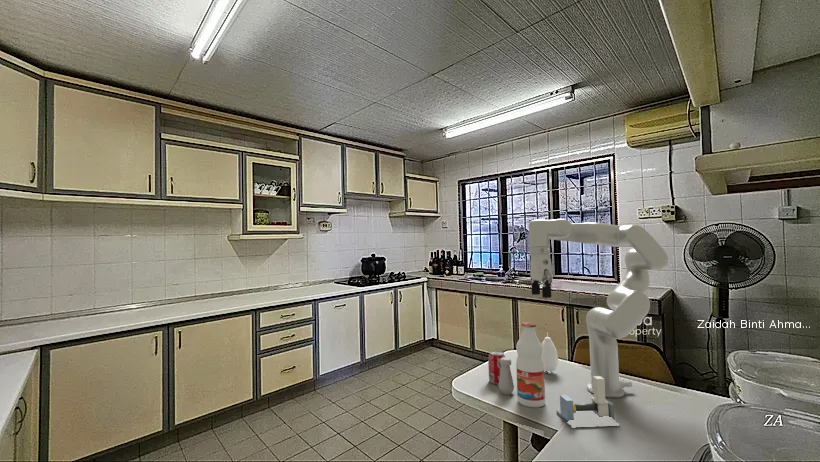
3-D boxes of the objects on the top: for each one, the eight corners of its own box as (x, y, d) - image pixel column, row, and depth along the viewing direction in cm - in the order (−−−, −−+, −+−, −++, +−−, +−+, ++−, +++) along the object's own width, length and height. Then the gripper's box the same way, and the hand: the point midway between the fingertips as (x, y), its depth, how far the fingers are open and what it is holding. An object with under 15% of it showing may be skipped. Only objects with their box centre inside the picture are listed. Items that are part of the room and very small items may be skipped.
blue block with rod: (600, 411, 117) (599, 390, 118) (619, 426, 107) (618, 402, 108) (556, 413, 116) (555, 391, 117) (572, 428, 106) (571, 404, 107)
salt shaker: (496, 390, 136) (495, 356, 137) (510, 389, 137) (509, 355, 138) (501, 396, 130) (500, 360, 131) (516, 395, 131) (515, 360, 132)
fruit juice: (549, 402, 125) (547, 322, 126) (537, 410, 118) (534, 327, 120) (525, 394, 132) (523, 319, 133) (512, 402, 125) (510, 323, 127)
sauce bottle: (541, 375, 152) (540, 333, 153) (538, 369, 160) (536, 329, 161) (560, 376, 151) (558, 333, 152) (556, 370, 158) (554, 329, 159)
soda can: (508, 381, 146) (507, 351, 146) (503, 386, 140) (502, 356, 140) (492, 378, 149) (491, 349, 150) (486, 383, 143) (485, 353, 144)
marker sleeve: (600, 410, 114) (599, 375, 115) (608, 416, 110) (607, 379, 111) (592, 410, 114) (590, 375, 115) (599, 416, 110) (597, 379, 111)
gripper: (559, 251, 127) (561, 298, 126) (539, 251, 145) (541, 293, 144) (539, 251, 127) (541, 299, 126) (521, 251, 144) (523, 293, 143)
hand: (541, 295), depth 135 cm, fingers open, 9 cm apart
